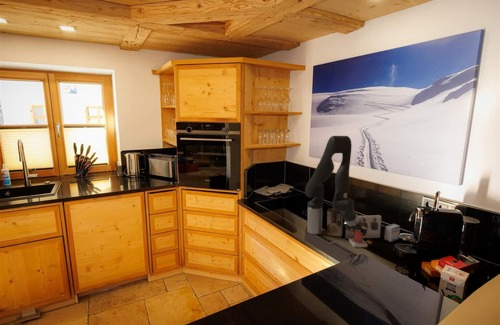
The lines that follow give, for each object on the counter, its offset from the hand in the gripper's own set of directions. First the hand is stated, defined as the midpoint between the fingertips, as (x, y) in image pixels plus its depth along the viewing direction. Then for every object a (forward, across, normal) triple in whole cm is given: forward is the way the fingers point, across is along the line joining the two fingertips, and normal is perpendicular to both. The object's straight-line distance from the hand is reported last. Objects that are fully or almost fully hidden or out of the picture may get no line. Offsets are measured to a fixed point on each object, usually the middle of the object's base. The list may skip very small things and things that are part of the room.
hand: (359, 233), depth 157 cm
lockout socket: (+3, 0, +6) cm, 7 cm away
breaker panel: (+10, +1, -1) cm, 10 cm away
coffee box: (+6, +17, +3) cm, 18 cm away
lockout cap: (+2, 0, +4) cm, 5 cm away
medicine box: (+17, -13, -8) cm, 23 cm away
